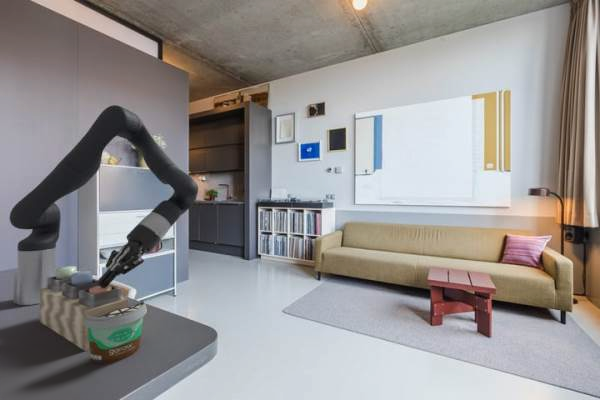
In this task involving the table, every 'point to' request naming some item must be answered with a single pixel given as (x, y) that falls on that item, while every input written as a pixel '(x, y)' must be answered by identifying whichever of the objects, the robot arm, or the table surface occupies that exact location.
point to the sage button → (65, 272)
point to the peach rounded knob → (99, 289)
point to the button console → (75, 308)
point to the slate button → (82, 278)
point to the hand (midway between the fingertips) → (100, 285)
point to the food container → (115, 333)
